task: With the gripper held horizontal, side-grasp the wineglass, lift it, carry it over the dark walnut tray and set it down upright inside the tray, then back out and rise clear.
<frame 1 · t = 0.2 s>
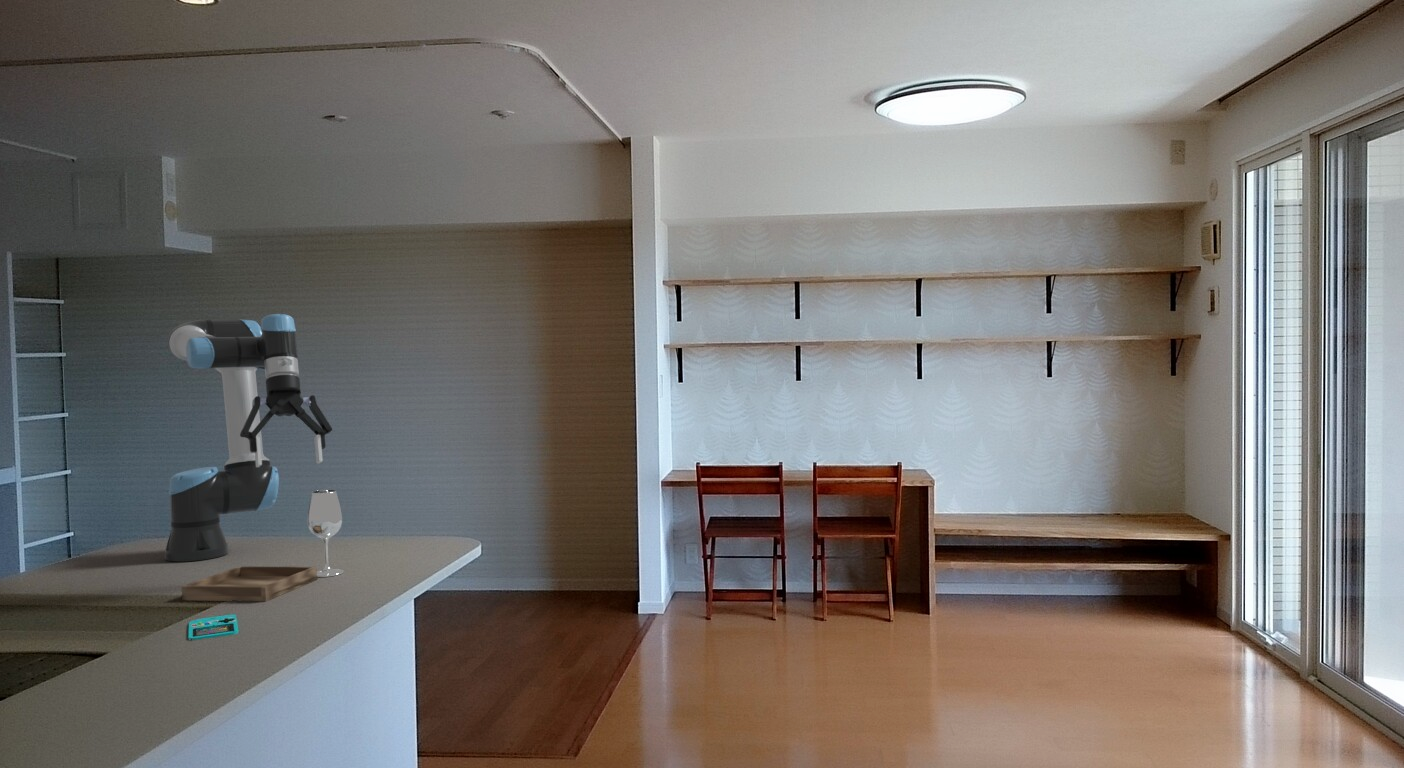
hand: (289, 464, 231), 27 cm above the counter, tool tilted 15°, fingers open, 13 cm apart
walnut tray: (252, 589, 222), on the counter
handheld gaming console: (213, 630, 190), on the counter
wineglass: (327, 574, 236), on the counter
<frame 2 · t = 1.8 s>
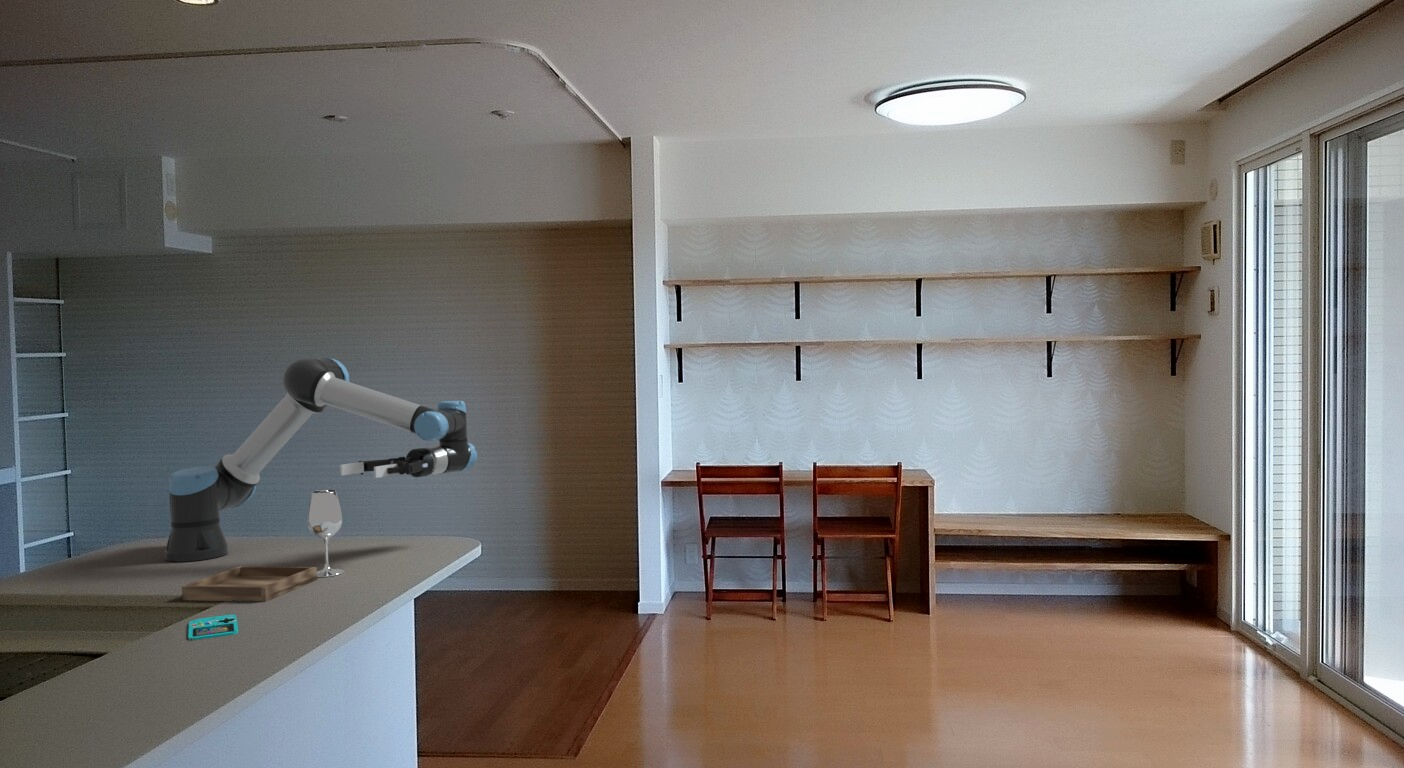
hand: (357, 471, 243), 24 cm above the counter, tool horizontal, fingers open, 13 cm apart
nothing on the counter moved.
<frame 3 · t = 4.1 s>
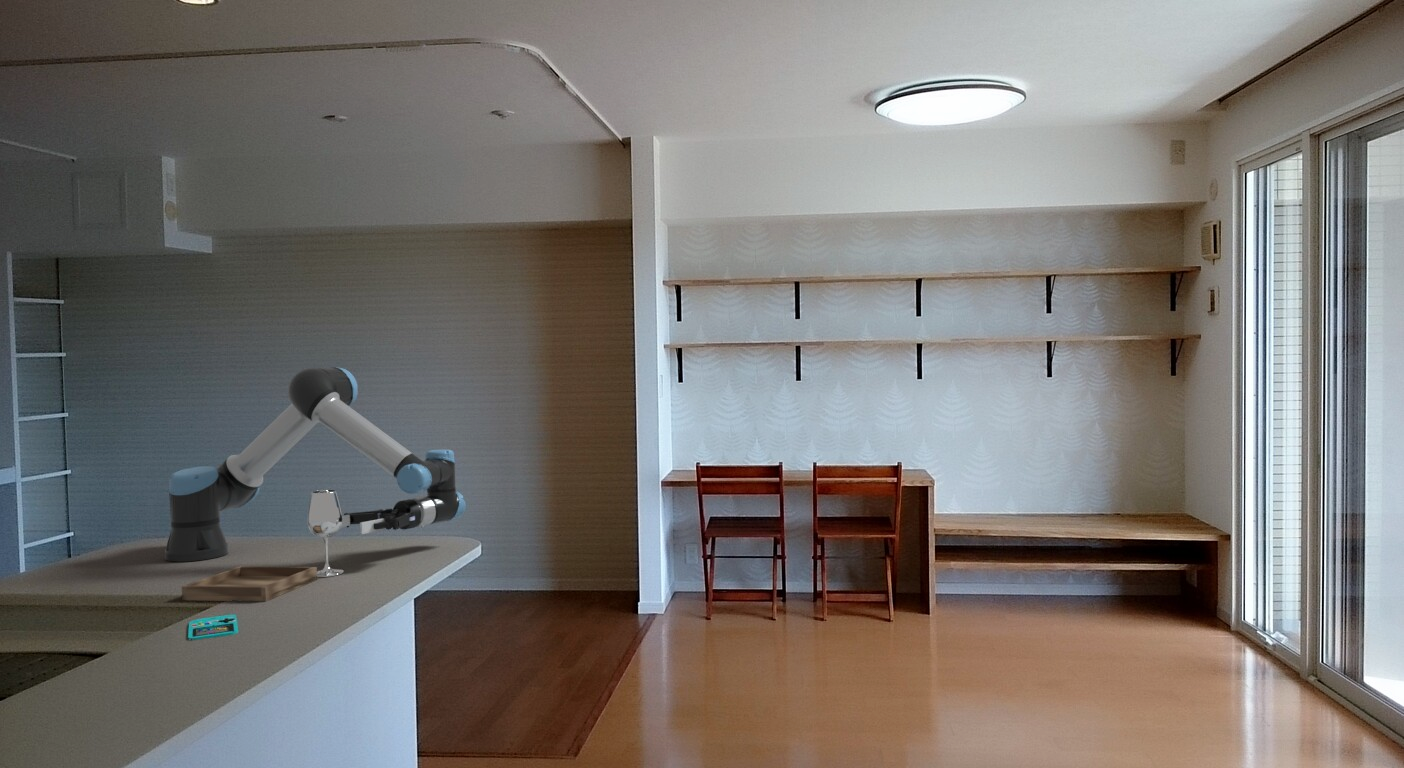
hand: (343, 526, 239), 11 cm above the counter, tool horizontal, fingers open, 13 cm apart
nothing on the counter moved.
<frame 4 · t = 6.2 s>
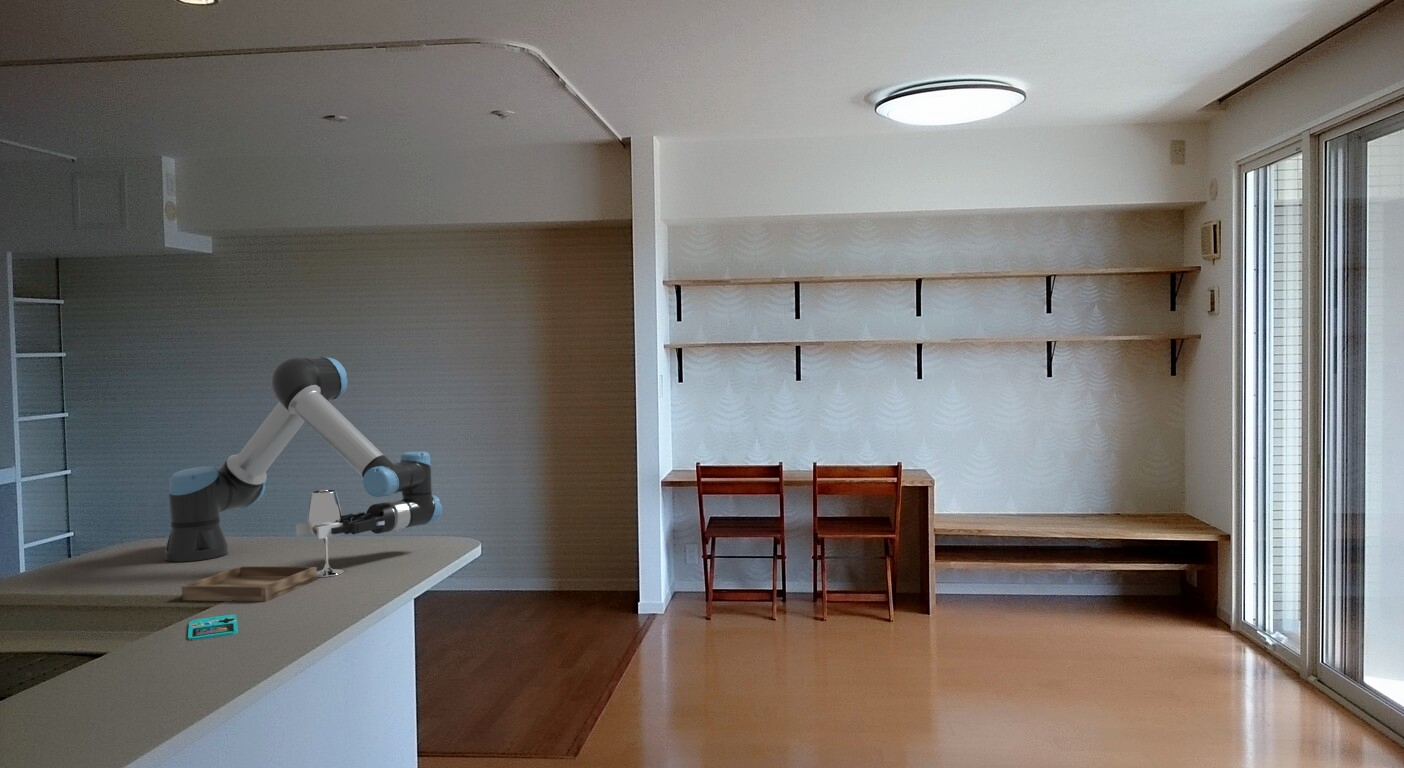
hand: (307, 531, 232), 11 cm above the counter, tool horizontal, fingers closed on wineglass, 8 cm apart
wineglass: (327, 574, 236), on the counter, touching gripper
everything else where it was.
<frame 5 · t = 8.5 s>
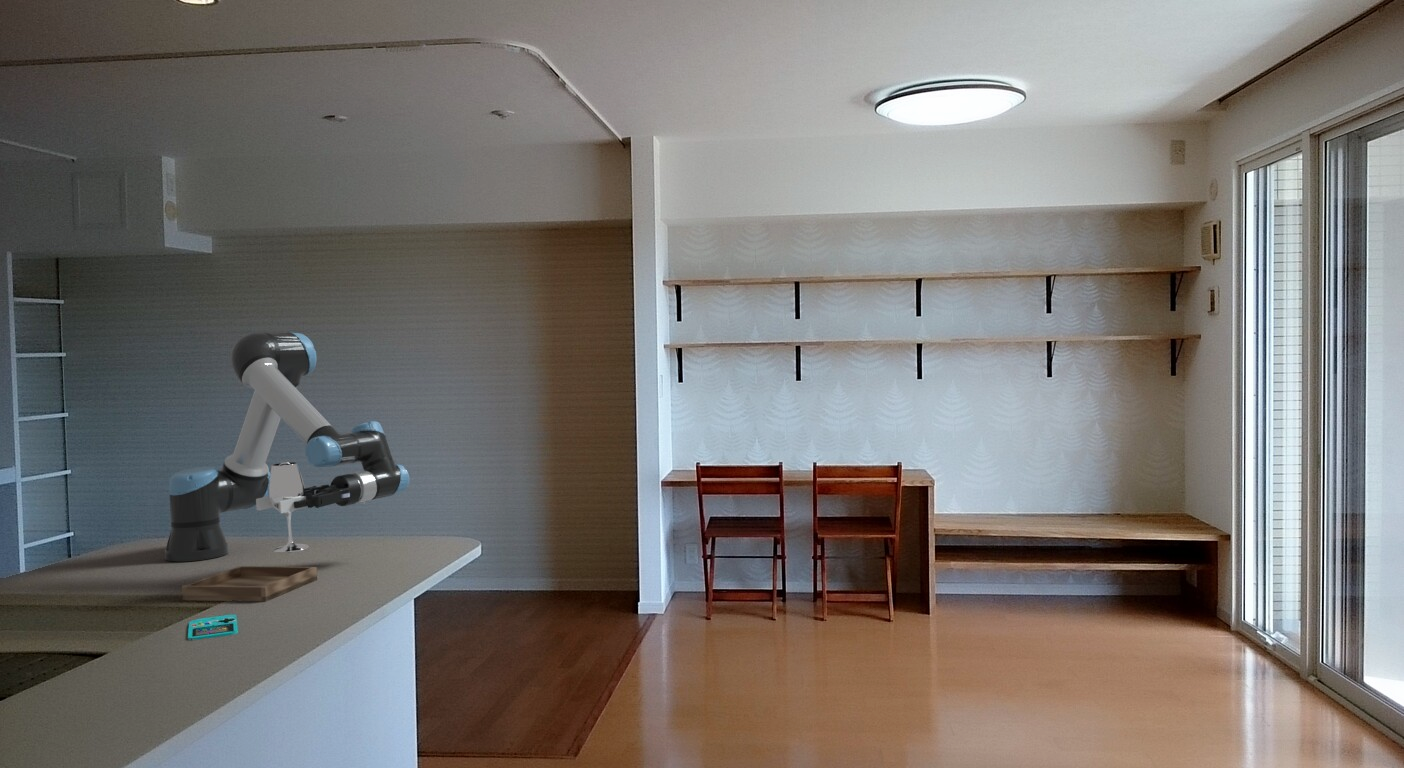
hand: (268, 506, 222), 19 cm above the counter, tool horizontal, fingers closed on wineglass, 8 cm apart
wineglass: (291, 550, 227), point 8 cm above the counter, touching gripper
everything else where it was.
when the fingers open (13 cm above the counter, at t = 10.9 s): wineglass stays where it is, resting on walnut tray.
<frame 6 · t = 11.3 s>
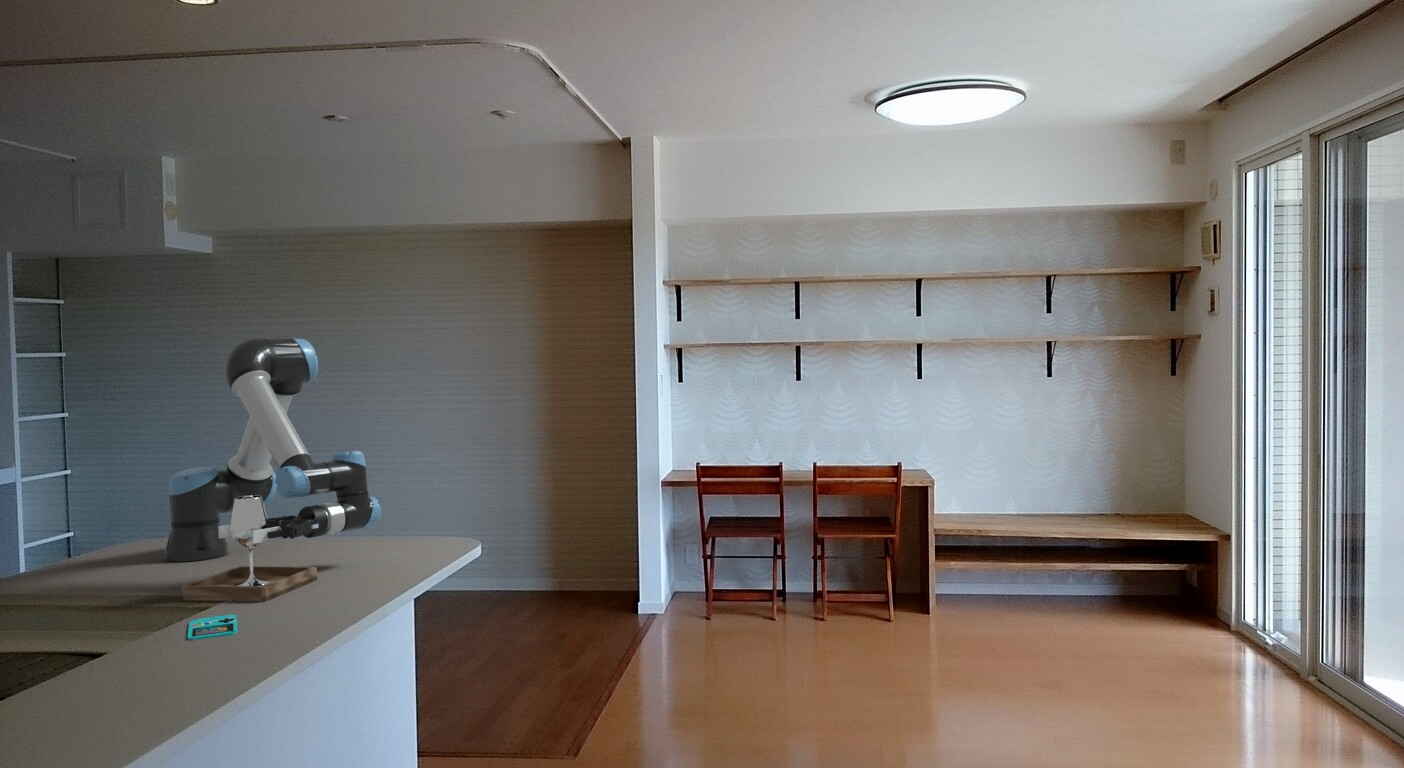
hand: (235, 535, 219), 13 cm above the counter, tool horizontal, fingers open, 13 cm apart
wineglass: (252, 585, 222), point 1 cm above the counter, touching walnut tray
everything else where it was.
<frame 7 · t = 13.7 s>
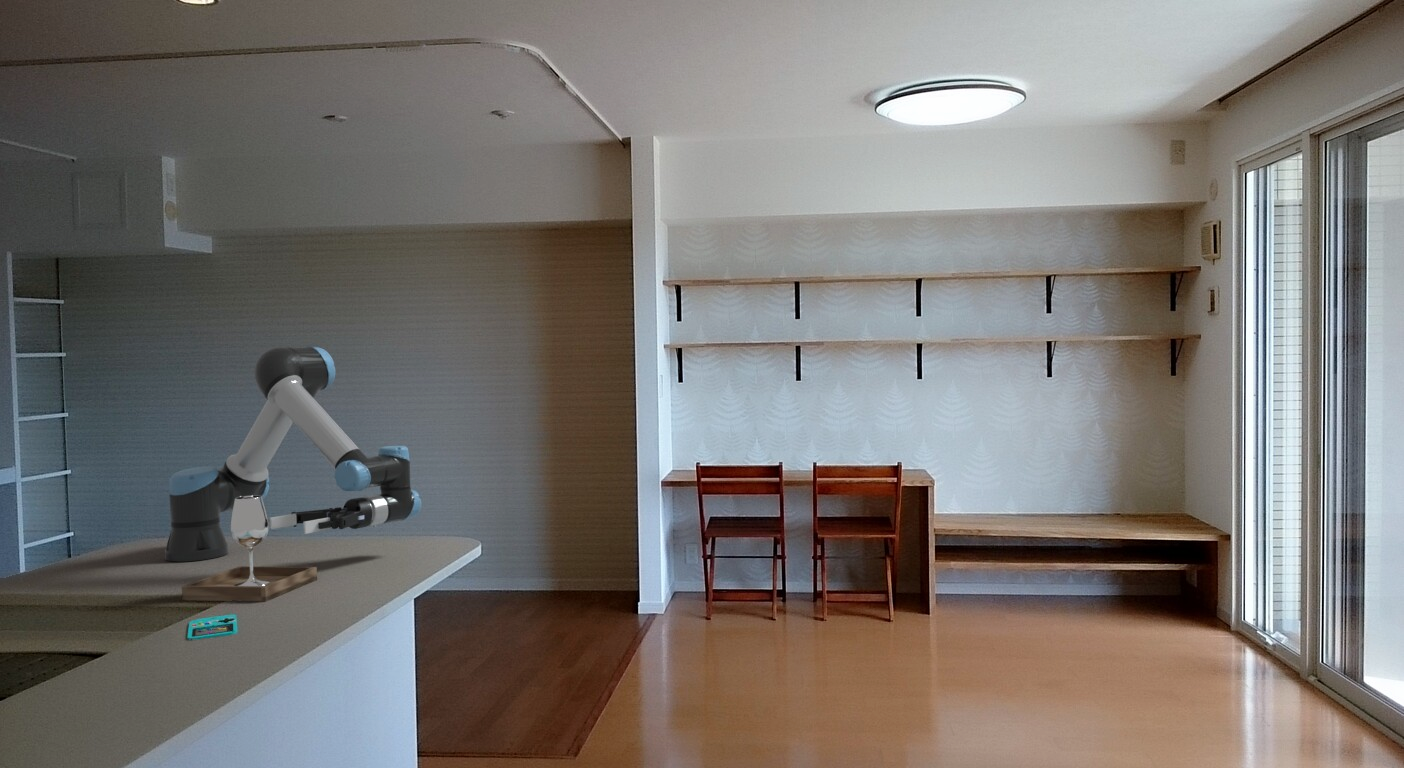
hand: (287, 525, 229), 13 cm above the counter, tool horizontal, fingers open, 13 cm apart
nothing on the counter moved.
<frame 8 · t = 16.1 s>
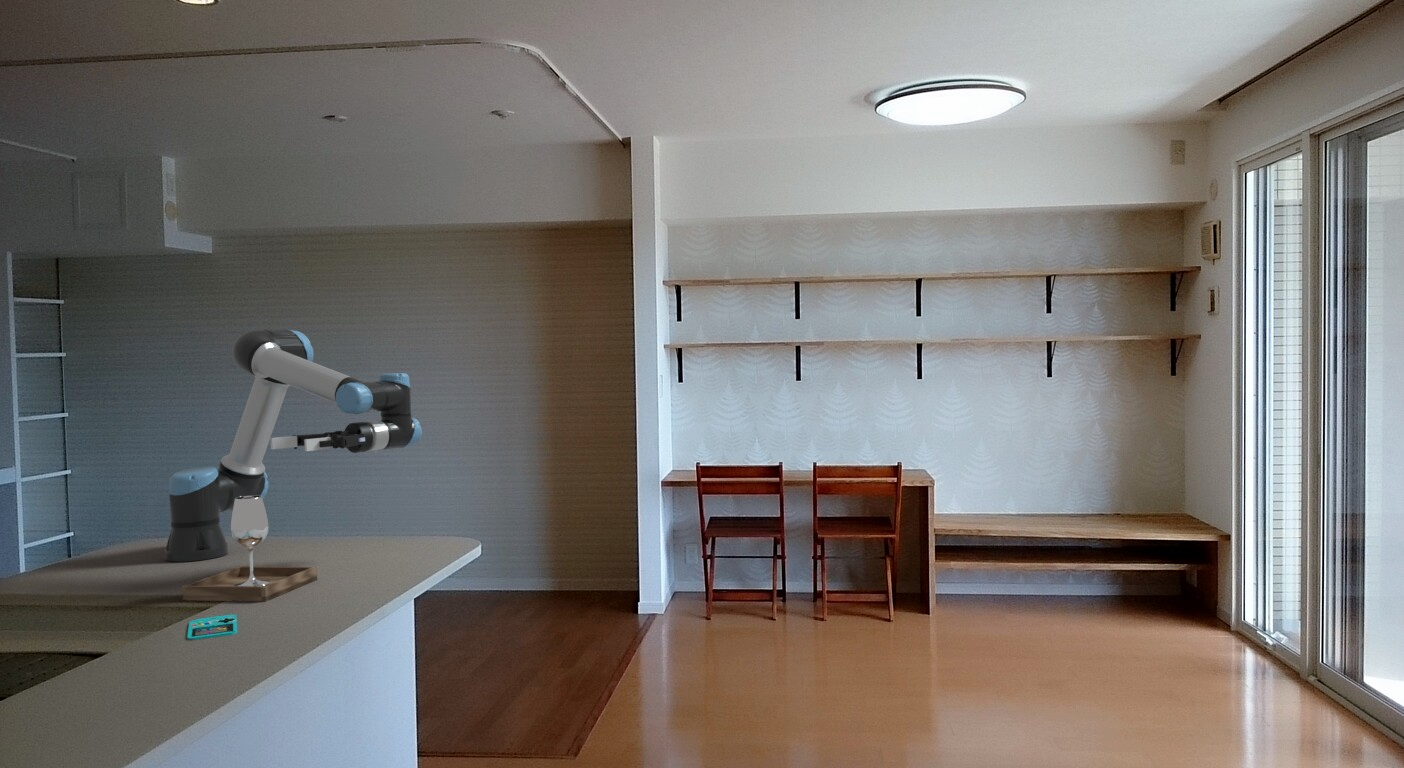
hand: (288, 444, 229), 32 cm above the counter, tool horizontal, fingers open, 13 cm apart
nothing on the counter moved.
at the end: wineglass inside the target area on the walnut tray (0.1 cm from its centre), point 0.8 cm above the walnut tray's base; wineglass tilted 0°; the gripper is holding nothing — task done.
